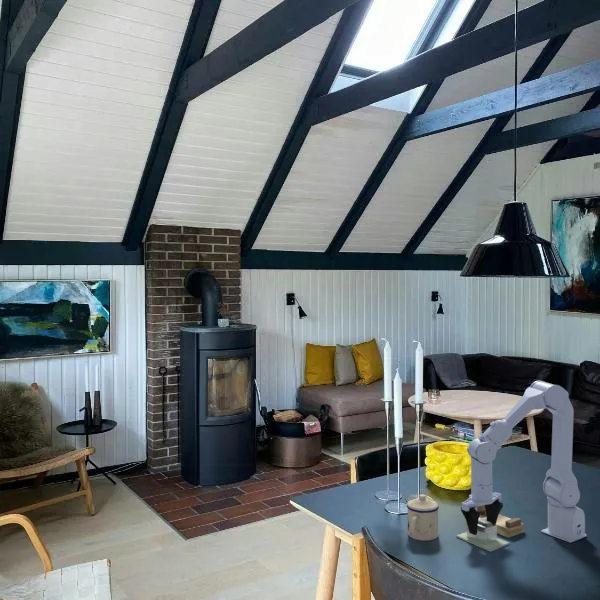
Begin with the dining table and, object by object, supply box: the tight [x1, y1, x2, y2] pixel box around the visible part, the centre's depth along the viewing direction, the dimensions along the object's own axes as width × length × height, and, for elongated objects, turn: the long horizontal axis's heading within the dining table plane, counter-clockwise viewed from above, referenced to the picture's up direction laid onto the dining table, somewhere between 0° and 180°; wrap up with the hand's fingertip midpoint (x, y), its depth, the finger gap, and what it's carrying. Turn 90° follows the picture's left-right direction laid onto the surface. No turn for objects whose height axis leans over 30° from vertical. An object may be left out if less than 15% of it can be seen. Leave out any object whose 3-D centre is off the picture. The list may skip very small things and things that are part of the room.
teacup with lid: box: [406, 493, 440, 542], centre depth 179 cm, size 12×9×12 cm
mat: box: [456, 531, 510, 553], centre depth 176 cm, size 12×8×1 cm, turn 33°
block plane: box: [476, 505, 525, 539], centre depth 185 cm, size 14×7×5 cm, turn 33°
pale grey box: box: [465, 518, 498, 545], centre depth 176 cm, size 7×4×5 cm, turn 33°
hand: (482, 530), depth 176 cm, fingers open, 7 cm apart
